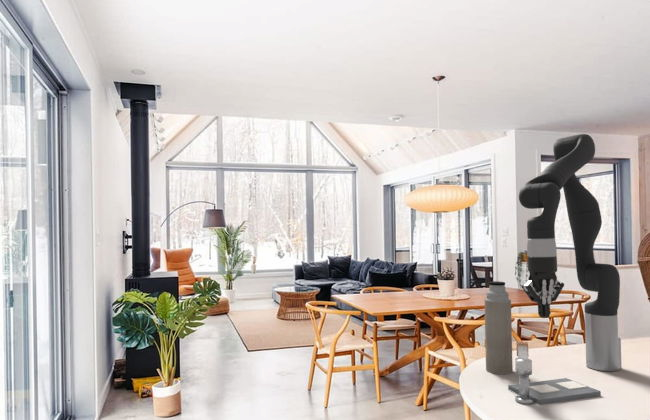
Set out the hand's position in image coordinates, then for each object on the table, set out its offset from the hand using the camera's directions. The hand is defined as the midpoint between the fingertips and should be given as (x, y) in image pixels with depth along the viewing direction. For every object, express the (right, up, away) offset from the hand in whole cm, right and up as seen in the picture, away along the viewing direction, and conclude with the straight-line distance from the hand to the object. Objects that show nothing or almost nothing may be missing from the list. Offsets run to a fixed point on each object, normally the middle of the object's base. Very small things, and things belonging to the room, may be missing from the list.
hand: (544, 317), depth 134 cm
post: (-9, -20, -8) cm, 23 cm away
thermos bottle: (-6, -21, +19) cm, 29 cm away
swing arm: (-6, -13, +1) cm, 14 cm away
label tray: (+2, -20, -2) cm, 20 cm away
